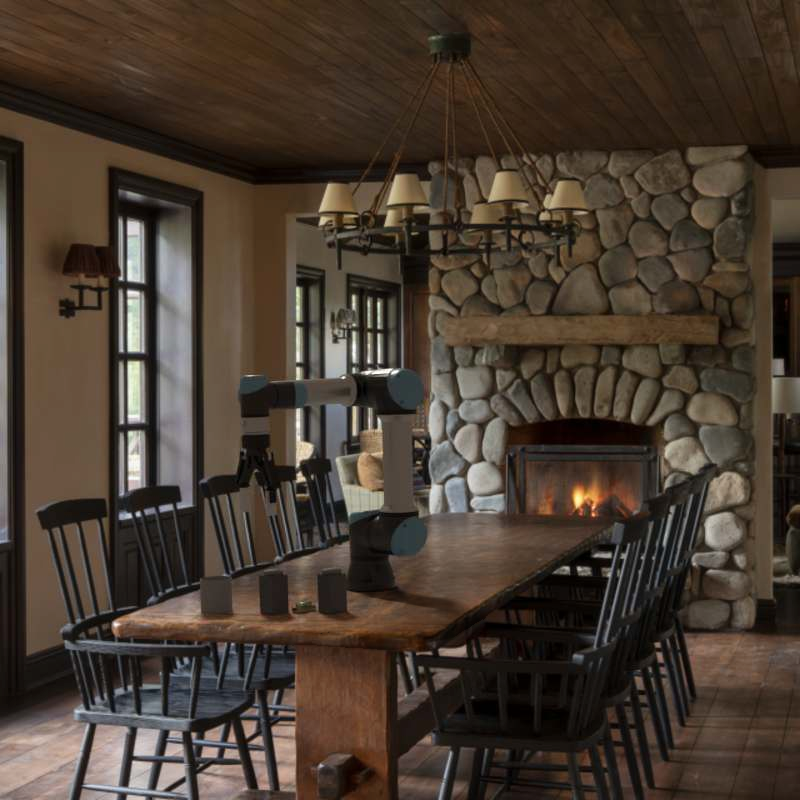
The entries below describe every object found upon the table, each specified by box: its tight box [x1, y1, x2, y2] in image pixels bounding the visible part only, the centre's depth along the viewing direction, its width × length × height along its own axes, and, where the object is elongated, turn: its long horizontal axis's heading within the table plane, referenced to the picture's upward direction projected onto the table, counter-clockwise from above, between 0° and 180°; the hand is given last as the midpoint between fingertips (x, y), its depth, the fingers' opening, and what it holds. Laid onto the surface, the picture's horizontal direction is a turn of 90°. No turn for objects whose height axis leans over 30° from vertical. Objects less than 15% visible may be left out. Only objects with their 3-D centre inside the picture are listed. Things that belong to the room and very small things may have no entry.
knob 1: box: [258, 568, 290, 616], centre depth 345 cm, size 5×5×11 cm
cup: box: [199, 575, 234, 615], centre depth 350 cm, size 8×8×10 cm
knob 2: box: [316, 567, 348, 615], centre depth 344 cm, size 5×5×11 cm
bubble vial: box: [291, 600, 317, 615], centre depth 345 cm, size 6×2×3 cm, turn 131°
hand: (258, 513), depth 344 cm, fingers open, 13 cm apart
